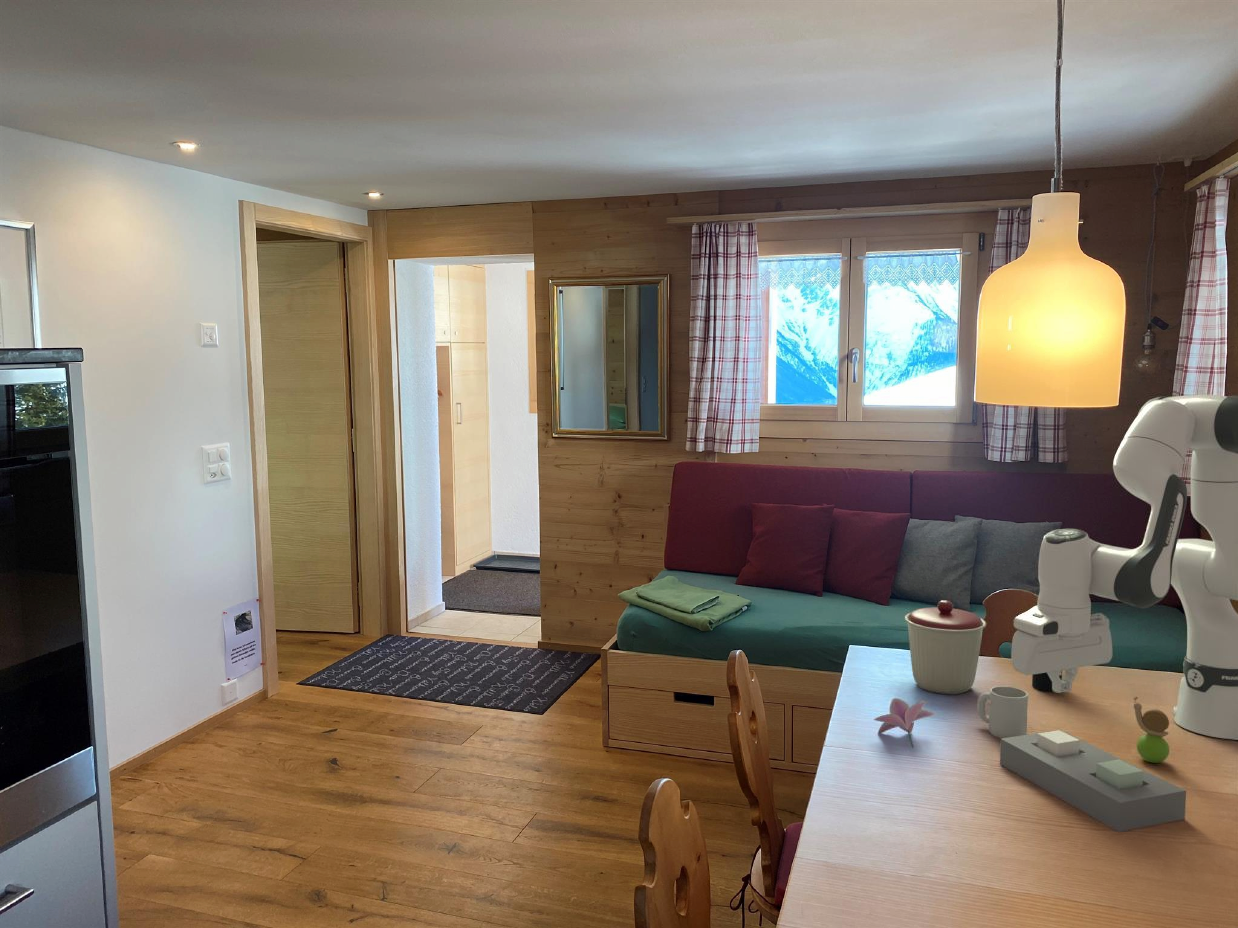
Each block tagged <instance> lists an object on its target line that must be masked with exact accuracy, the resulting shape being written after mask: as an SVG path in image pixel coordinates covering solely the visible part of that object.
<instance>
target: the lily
mask: <svg viewBox="0 0 1238 928" xmlns="http://www.w3.org/2000/svg"><path fill="white" fill-rule="evenodd" d="M926 703H927V701H925V700H923V701H920V702H917V703H915V704H913V705H911V706H910V705H909V704H908V702H905V701H904V700H902V699H900V698H897V697H894V698H893V699H892V700H891V702H890V703H889V704H890V705H889V713H887V714H884V715H883V714H882V715H880V716H878V717H875V718H874V719H873V720H874V721H876V722H880V723H882V724H880V725H881V726H879V729H878V731H877V733H878V734H882V733H885V732H886V731H889V730H892V729H894V728H899V729H900V730H902V731H904V732H906V733H907V735H908V738H909V742H910V746H911V748H912V749H913V748H914V745H913V741H912V737H911V734H912V732H913V729H914V726H915V721H917V720H920V719H923V718H928V717H931V716H934V715H935V712H933V711H931V710H927V709H922V708H923V707H924V706H925V705H926Z"/></svg>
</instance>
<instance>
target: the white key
mask: <svg viewBox="0 0 1238 928" xmlns="http://www.w3.org/2000/svg"><path fill="white" fill-rule="evenodd" d="M1056 730H1057V731H1054V730H1050V731H1051V732H1048V731H1043V732H1044V733H1041V732H1037V733H1038V737H1037V747H1038V748H1040V749H1042V750H1044V751H1046V752H1048V753H1050V754H1052V755H1054V756H1056V757H1061V756H1067V755H1073V754H1079V743H1080V740H1078V739H1076V738H1074V737H1075V736H1074V737H1072V736H1073V735H1072V736H1070V735H1071V734H1070V735H1068V734H1069V733H1068V734H1066V733H1067V732H1066V733H1064V732H1065V731H1064V732H1062V731H1063V730H1062V731H1060V730H1061V729H1056Z"/></svg>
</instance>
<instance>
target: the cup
mask: <svg viewBox="0 0 1238 928" xmlns="http://www.w3.org/2000/svg"><path fill="white" fill-rule="evenodd" d="M1028 699H1029V693H1028V692H1027V691H1026V690H1024V689H1021V688H1018V687H1016V686H1015V687H1014V686H1007V685H1001V686H1000V685H998V686H993V687H991V688H990V690H989V691H985V692H982V693H981V694H980V695H979V696H978V699H977V702H976V707H977V713H978V716H979V718H980V719H981V721H983V722H984V723H985V724H988V730H989V733H990V734H991V735H992V736H994V737H996V738H999V739H1002V738H1008V737H1015V736H1021V735H1027V729H1028V728H1027V727H1028V707H1029V706H1028V703H1029V700H1028ZM987 701H989V713H988V714H987V711H986V708H985V707H986V703H987Z"/></svg>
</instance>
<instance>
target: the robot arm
mask: <svg viewBox="0 0 1238 928" xmlns="http://www.w3.org/2000/svg"><path fill="white" fill-rule="evenodd" d="M1188 451H1192V453H1191V463H1190V511H1191V515H1192V517H1193V518H1194V519H1195V521H1197V522H1198V524H1200V525H1201V526H1202V527H1204V528H1205V529H1206V530H1207V532H1208V534H1209V535H1210V537H1211V539H1212V540H1208V539H1202V538H1179V536H1180V532H1181V528H1182V525H1183V521H1184V516H1185V512H1186V507H1187V502H1188V501H1187V500H1188V488H1187V485H1186V483H1185V481H1184V479H1182V478H1181V477H1180V476H1181V475H1180V474H1181V468H1182V466H1183V463H1184V461H1185V459H1186V456H1187V454H1188ZM1112 469H1113V473H1114V476H1115V478H1116V480H1117V482H1119V484H1120V485H1121V487H1123V488H1124V490H1126V491H1127V492H1129V494H1131V495H1133V496H1134V497H1136V498H1138V499H1140V500H1142V501H1144V502H1145V503H1147V504H1148V505H1150V507H1151V508H1150V509H1151V510H1150V513H1149V514H1150V515H1149V518H1148V522H1147V525H1146V529H1145V530H1146V531H1145V532H1144V537H1143V540H1142V543H1141V545H1139V546H1137V547H1136V548H1126V547H1120V546H1113V545H1110V544H1104V543H1100V542H1098V541H1095V540H1094V539H1091V538H1090V537H1089V535H1088V533H1087V532H1086V531H1084V530H1082V529H1078V528H1061V529H1059V528H1058V529H1054V530H1051V531H1050V532H1047V533H1046V534H1045V535H1044V536H1043V539H1042V541H1041V545H1040V548H1039V554H1038V555H1039V556H1038V564H1037V565H1038V570H1037V572H1038V573H1037V574H1038V575H1037V579H1038V582H1039V593H1038V597H1037V605H1034V606H1033V607H1031V608H1029V610H1027V611H1025V612H1023V613H1021V614H1019V615H1018V616H1015V618H1014V619H1013V627H1014V628H1015V629H1017V630H1016V631H1015V632H1014V634H1013V637H1012V641H1011V650H1010V651H1011V653H1010V656H1011V661H1010V662H1011V663H1010V664H1011V666H1012V667H1013V669H1014V671H1016V672H1018V673H1020V674H1023V675H1025V676H1031V675H1033V674H1039V673H1046V672H1047V674H1048V676H1049V677H1050V679H1051V681H1052V690H1053V691H1054V692H1053V693H1059V694H1060V693H1064V692H1065V693H1066V692H1071V691H1072V689H1073V682H1074V681H1075V678H1076V676H1077V675H1078V670H1079V668H1083V667H1089V666H1090V667H1091V666H1095V665H1097V666H1098V665H1102V664H1108V663H1110V662H1111V660H1112V658H1113V643H1112V642H1113V640H1112V633H1111V630H1110V619H1109V618H1108V617H1107V616H1106V615H1104V614H1103V613H1101V612H1099V613H1094V614H1091V609H1092V603H1091V598H1090V595H1095V596H1097V597H1101V598H1105V599H1110V600H1114V601H1119V602H1121V603H1124V604H1127V605H1130V606H1132V607H1135V608H1139V609H1147V608H1150V607H1151V606H1154V605H1156V604H1157V603H1160V601H1162V600H1163V599H1164V598H1165V597H1166V596H1167V595H1168V593H1169V591H1170V588H1171V587H1173V589H1174V590H1175V592H1176V594H1177V595H1178V597H1179V599H1180V601H1181V604H1182V608H1183V611H1184V615H1185V619H1186V626H1187V627H1186V629H1187V632H1186V633H1187V636H1186V637H1187V638H1186V641H1187V642H1186V647H1187V648H1186V655H1185V656H1184V658H1183V659H1184V660H1183V663H1182V666H1183V669H1182V672H1183V675H1184V676H1183V677H1181V679H1180V684H1179V690H1178V697H1177V703H1176V706H1173V709H1172V713H1173V714H1174V718H1173V720H1174V722H1175V724H1177V725H1178V726H1179V727H1181V728H1184V729H1185V730H1187V731H1190V732H1193V733H1197V734H1200V735H1203V736H1207V737H1212V738H1220V739H1227V740H1236V741H1238V613H1237V611H1236V610H1235V609H1234V607H1233V605H1232V603H1231V600H1234V601H1238V395H1229V396H1226V395H1217V394H1206V393H1205V394H1194V395H1191V394H1190V395H1178V396H1177V395H1174V396H1170V395H1164V396H1157V397H1154V398H1152V399H1151V398H1150V399H1148V400H1147V401H1146V402H1145V403H1144V404H1143V406H1141V408H1140V409H1139V411H1138V413H1137V416H1136V417H1135V418H1134V420H1133V421H1132V423H1131V424H1130V426H1129V427H1128V430H1127V431H1126V433H1125V434H1124V437H1123V439H1122V440H1121V442H1120V445H1119V446H1118V449H1117V450H1116V453H1115V455H1114V458H1113V464H1112ZM1063 671H1064V674H1063ZM1061 673H1062V680H1060V677H1059V676H1060V675H1061Z"/></svg>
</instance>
